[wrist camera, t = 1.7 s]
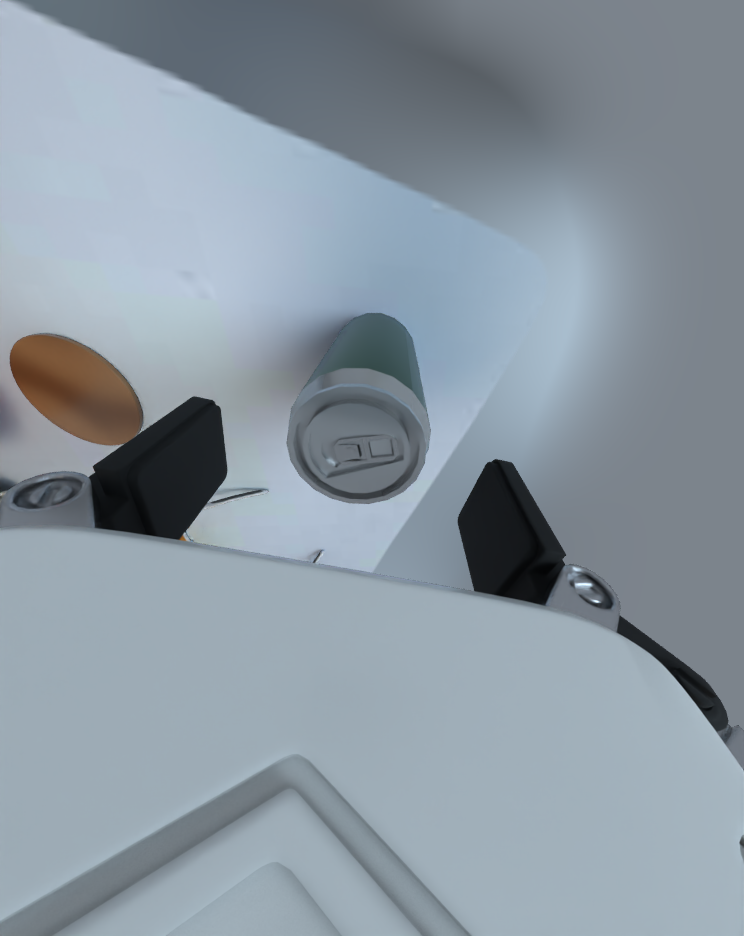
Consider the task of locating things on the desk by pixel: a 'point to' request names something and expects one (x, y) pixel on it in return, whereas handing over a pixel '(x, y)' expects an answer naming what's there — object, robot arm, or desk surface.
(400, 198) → the desk surface
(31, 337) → the coaster
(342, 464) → the beer can
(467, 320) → the desk surface
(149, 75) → the desk surface
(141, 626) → the robot arm
